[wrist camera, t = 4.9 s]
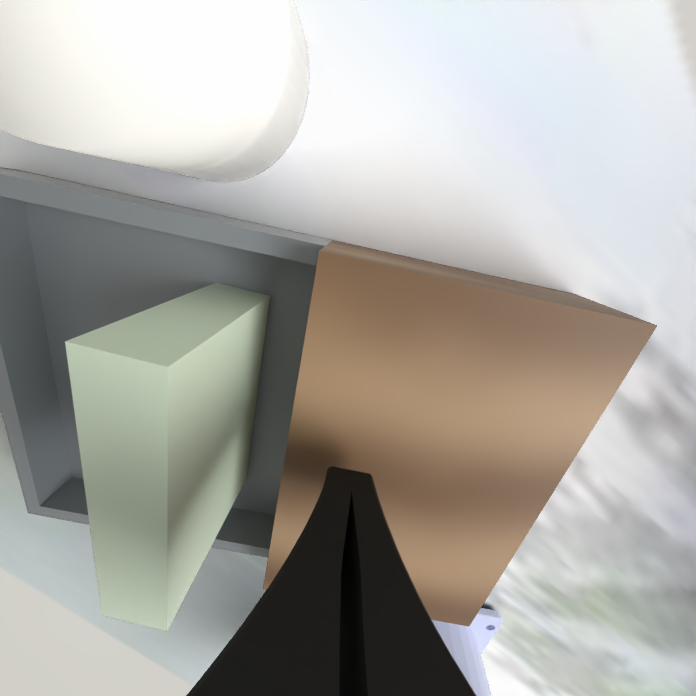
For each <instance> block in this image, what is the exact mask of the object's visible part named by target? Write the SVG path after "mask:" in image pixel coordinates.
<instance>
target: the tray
mask: <svg viewBox="0 0 696 696" xmlns="http://www.w3.org/2000/svg"><path fill="white" fill-rule="evenodd" d="M331 241H332V240H329V239H325V238H320V237H316V236H311V235H307V234H302V233H298V232H293V231H289V230H285V229H280V228H276V227H271V226H267V225H262V224H258V223H253V222H249V221H244V220H240V219H235V218H231V217H226V216H222V215H217V214H213V213H208V212H204V211H199V210H195V209H190V208H186V207H181V206H177V205H173V204H168V203H164V202H159V201H155V200H150V199H146V198H141V197H137V196H132V195H128V194H123V193H119V192H114V191H110V190H105V189H101V188H96V187H92V186H87V185H83V184H78V183H74V182H69V181H65V180H61V179H56V178H52V177H47V176H43V175H38V174H34V173H29V172H25V171H20V170H16V169H8V168H0V408H1V412H2V416H3V419H4V423H5V427H6V431H7V435H8V439H9V442H10V446H11V450H12V454H13V458H14V461H15V465H16V469H17V473H18V477H19V481H20V484H21V488H22V492H23V496H24V500H25V503H26V507H27V511H28V513H30V514H35V515H41V516H46V517H52V518H57V519H62V520H68V521H73V522H78V523H84V524H89V516H88V509H87V501H86V494H85V487H84V479H83V472H82V464H81V457H80V449H79V442H78V434H77V427H76V420H75V412H74V405H73V397H72V390H71V382H70V375H69V367H68V360H67V353H66V345H65V341H68V340H70V339H73V338H75V337H78V336H81V335H83V334H86V333H88V332H91V331H93V330H96V329H98V328H101V327H104V326H106V325H109V324H111V323H114V322H116V321H119V320H121V319H124V318H127V317H129V316H132V315H134V314H137V313H139V312H142V311H145V310H147V309H150V308H152V307H155V306H157V305H160V304H162V303H165V302H168V301H170V300H173V299H175V298H178V297H180V296H183V295H185V294H188V293H191V292H193V291H196V290H198V289H201V288H203V287H206V286H208V285H211V284H214V283H221V284H225V285H229V286H233V287H237V288H241V289H245V290H249V291H253V292H257V293H261V294H265V295H269V296H270V301H269V308H268V316H267V323H266V331H265V338H264V346H263V354H262V361H261V369H260V376H259V384H258V392H257V399H256V407H255V414H254V422H253V429H252V437H251V445H250V452H249V460H248V467H247V475H246V480H245V482H244V484H243V486H242V488H241V490H240V492H239V494H238V496H237V498H236V499H235V501H234V503H233V505H232V507H231V509H230V511H229V513H228V515H227V517H226V519H225V521H224V523H223V525H222V527H221V528H220V530H219V532H218V534H217V536H216V538H215V540H214V542H213V544H212V546H211V547H213V548H218V549H224V550H229V551H234V552H240V553H245V554H250V555H256V556H261V557H267V558H268V556H269V550H270V544H271V538H272V532H273V526H274V520H275V514H276V508H277V502H278V496H279V490H280V484H281V478H282V472H283V466H284V459H285V453H286V447H287V441H288V435H289V429H290V423H291V417H292V411H293V405H294V399H295V393H296V387H297V381H298V375H299V369H300V363H301V357H302V351H303V345H304V339H305V333H306V327H307V321H308V315H309V309H310V303H311V297H312V291H313V285H314V279H315V273H316V267H317V261H318V255H319V250H321V249H322V248H323V247H324V246H326V245H327V244H328V243H329V242H331ZM89 525H90V524H89Z"/></svg>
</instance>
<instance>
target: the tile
mask: <svg viewBox="0 0 696 696" xmlns="http://www.w3.org/2000/svg"><path fill="white" fill-rule="evenodd" d="M269 301H270V296H269V295H265V294H261V293H257V292H253V291H249V290H245V289H241V288H237V287H233V286H229V285H225V284H221V283H214V284H211V285H208V286H206V287H203V288H201V289H198V290H196V291H193V292H191V293H188V294H185V295H183V296H180V297H178V298H175V299H173V300H170V301H168V302H165V303H162V304H160V305H157V306H155V307H152V308H150V309H147V310H145V311H142V312H139V313H137V314H134V315H132V316H129V317H127V318H124V319H121V320H119V321H116V322H114V323H111V324H109V325H106V326H104V327H101V328H98V329H96V330H93V331H91V332H88V333H86V334H83V335H81V336H78V337H75V338H73V339H70V340H68V341H65V345H66V353H67V360H68V367H69V375H70V382H71V390H72V397H73V405H74V412H75V420H76V427H77V434H78V442H79V449H80V457H81V464H82V472H83V479H84V487H85V494H86V501H87V509H88V516H89V524H90V531H91V539H92V546H93V554H94V561H95V568H96V576H97V583H98V591H99V598H100V606H101V613H102V615H103V616H106V617H110V618H114V619H118V620H122V621H126V622H130V623H134V624H138V625H142V626H146V627H150V628H154V629H158V630H162V631H166V632H167V631H168V629H169V627H170V625H171V623H172V621H173V619H174V617H175V615H176V613H177V612H178V610H179V608H180V606H181V604H182V602H183V600H184V598H185V596H186V594H187V592H188V590H189V588H190V586H191V584H192V583H193V581H194V579H195V577H196V575H197V573H198V571H199V569H200V567H201V565H202V563H203V561H204V559H205V557H206V556H207V554H208V552H209V550H210V548H211V546H212V544H213V542H214V540H215V538H216V536H217V534H218V532H219V530H220V528H221V527H222V525H223V523H224V521H225V519H226V517H227V515H228V513H229V511H230V509H231V507H232V505H233V503H234V501H235V499H236V498H237V496H238V494H239V492H240V490H241V488H242V486H243V484H244V482H245V480H246V475H247V467H248V460H249V452H250V445H251V437H252V429H253V422H254V414H255V407H256V399H257V392H258V384H259V376H260V369H261V361H262V354H263V346H264V338H265V331H266V323H267V316H268V308H269Z"/></svg>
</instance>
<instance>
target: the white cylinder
mask: <svg viewBox="0 0 696 696" xmlns="http://www.w3.org/2000/svg"><path fill="white" fill-rule="evenodd" d="M309 79H310V72H309V56H308V49H307V42H306V38H305V34H304V30H303V26H302V23H301V19H300V16H299V13H298V10H297V7H296V4H295V1H294V0H0V130H2V131H4V132H6V133H9V134H11V135H13V136H16V137H18V138H21V139H25V140H28V141H32V142H35V143H38V144H42V145H46V146H51V147H55V148H60V149H65V150H69V151H74V152H79V153H83V154H88V155H93V156H97V157H102V158H106V159H111V160H116V161H120V162H125V163H130V164H134V165H139V166H143V167H148V168H153V169H157V170H162V171H167V172H171V173H176V174H181V175H185V176H190V177H194V178H199V179H204V180H209V181H216V182H234V181H240V180H244V179H247V178H250V177H253V176H255V175H257V174H259V173H261V172H263V171H265V170H266V169H267V168H269V167H270V166H272V165H273V164H274V163H275V162H276V161H277V160H278V159H279V158H280V157H281V156H282V155H283V154H284V152H285V151H286V150H287V149H288V147H289V146H290V144H291V143H292V141H293V139H294V137H295V136H296V134H297V131H298V129H299V127H300V125H301V122H302V119H303V116H304V112H305V109H306V104H307V98H308V93H309Z"/></svg>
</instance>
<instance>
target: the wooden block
mask: <svg viewBox="0 0 696 696" xmlns="http://www.w3.org/2000/svg"><path fill="white" fill-rule="evenodd" d="M656 327H657V325H654V324H652V323H649V322H646V321H644V320H641V319H639V318H636V317H633V316H631V315H628V314H626V313H623V312H620V311H618V310H615V309H612V308H610V307H607V306H605V305H602V304H599V303H597V302H594V301H591V300H589V299H586V298H584V297H581V296H578V295H576V294H571V293H567V292H562V291H558V290H553V289H549V288H544V287H540V286H535V285H531V284H526V283H522V282H517V281H513V280H509V279H504V278H500V277H495V276H491V275H486V274H482V273H477V272H473V271H468V270H464V269H459V268H455V267H450V266H446V265H441V264H437V263H432V262H428V261H423V260H419V259H414V258H410V257H405V256H401V255H397V254H392V253H388V252H383V251H379V250H374V249H370V248H365V247H361V246H356V245H352V244H347V243H343V242H338V241H334V240H332V241H331V242H329V243H328V244H327V245H326V246H324V247H323V248H322V249H321V250H319V255H318V261H317V267H316V273H315V279H314V285H313V291H312V297H311V303H310V309H309V315H308V321H307V327H306V333H305V339H304V345H303V351H302V357H301V363H300V369H299V375H298V381H297V387H296V393H295V399H294V405H293V411H292V417H291V423H290V429H289V435H288V441H287V447H286V453H285V459H284V466H283V472H282V478H281V484H280V490H279V496H278V502H277V508H276V514H275V520H274V526H273V532H272V538H271V544H270V550H269V556H268V562H267V568H266V574H265V580H264V586H263V589H266V590H267V589H268V587H269V586H270V584H271V583H272V581H273V580H274V578H275V576H276V575H277V573H278V572H279V570H280V569H281V567H282V566H283V564H284V562H285V561H286V559H287V557H288V556H289V554H290V552H291V551H292V549H293V547H294V545H295V544H296V542H297V540H298V538H299V536H300V535H301V533H302V531H303V529H304V528H305V526H306V524H307V522H308V520H309V518H310V516H311V513H312V511H313V509H314V507H315V505H316V503H317V501H318V498H319V496H320V493H321V491H322V488H323V485H324V481H325V477H326V473H327V469H328V468H329V467H331V466H334V467H339V468H344V469H349V470H354V471H359V472H364V473H369V474H371V476H372V477H373V480H374V484H375V488H376V491H377V494H378V498H379V501H380V504H381V507H382V510H383V513H384V515H385V518H386V521H387V524H388V526H389V529H390V531H391V534H392V536H393V539H394V541H395V544H396V546H397V549H398V551H399V554H400V556H401V558H402V561H403V563H404V565H405V567H406V569H407V572H408V574H409V576H410V578H411V580H412V582H413V584H414V586H415V589H416V591H417V593H418V595H419V597H420V599H421V601H422V603H423V605H424V606H425V608H426V610H427V612H428V614H429V616H430V618H431V620H436V621H441V622H447V623H452V624H458V625H463V626H468V627H469V626H470V625H471V623H472V621H473V620H474V618H475V617H476V615H477V613H478V612H479V610H480V609H481V607H482V605H483V604H484V602H485V601H486V599H487V597H488V596H489V594H490V593H491V591H492V589H493V588H494V586H495V585H496V583H497V581H498V580H499V578H500V577H501V575H502V573H503V572H504V570H505V569H506V567H507V565H508V564H509V562H510V560H511V559H512V557H513V556H514V554H515V552H516V551H517V549H518V548H519V546H520V544H521V543H522V541H523V540H524V538H525V536H526V535H527V533H528V532H529V530H530V528H531V527H532V525H533V524H534V522H535V520H536V519H537V517H538V516H539V514H540V512H541V511H542V509H543V508H544V506H545V504H546V503H547V501H548V500H549V498H550V496H551V495H552V493H553V492H554V490H555V488H556V487H557V485H558V484H559V482H560V480H561V479H562V477H563V476H564V474H565V472H566V471H567V469H568V468H569V466H570V464H571V463H572V461H573V460H574V458H575V456H576V455H577V453H578V452H579V450H580V448H581V447H582V445H583V444H584V442H585V440H586V439H587V437H588V436H589V434H590V432H591V431H592V429H593V428H594V426H595V424H596V423H597V421H598V420H599V418H600V416H601V415H602V413H603V412H604V410H605V408H606V407H607V405H608V404H609V402H610V400H611V399H612V397H613V396H614V394H615V392H616V391H617V389H618V388H619V386H620V384H621V383H622V381H623V380H624V378H625V376H626V375H627V373H628V372H629V370H630V368H631V367H632V365H633V364H634V362H635V360H636V359H637V357H638V355H639V354H640V352H641V351H642V349H643V347H644V346H645V344H646V343H647V341H648V339H649V338H650V336H651V335H652V333H653V331H654V330H655V328H656Z"/></svg>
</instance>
